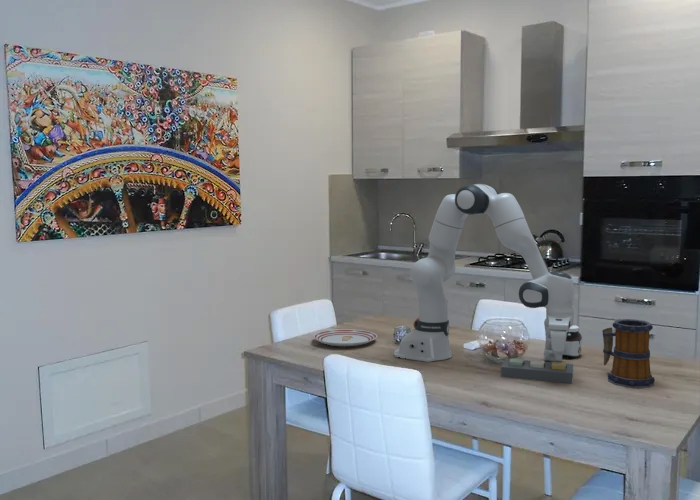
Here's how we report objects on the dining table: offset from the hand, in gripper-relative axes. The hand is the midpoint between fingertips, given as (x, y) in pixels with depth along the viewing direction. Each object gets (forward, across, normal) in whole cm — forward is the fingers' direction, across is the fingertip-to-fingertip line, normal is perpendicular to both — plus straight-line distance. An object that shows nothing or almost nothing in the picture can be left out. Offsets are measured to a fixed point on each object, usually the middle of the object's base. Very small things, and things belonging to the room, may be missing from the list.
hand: (559, 359), depth 214 cm
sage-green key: (+4, 0, -14) cm, 15 cm away
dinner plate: (+6, -24, -88) cm, 92 cm away
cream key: (+4, 0, -7) cm, 8 cm away
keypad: (+6, 0, -7) cm, 10 cm away
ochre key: (+4, 0, 0) cm, 4 cm away
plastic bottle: (+6, -20, -3) cm, 21 cm away
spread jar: (+6, -30, +1) cm, 31 cm away
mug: (+7, -4, +21) cm, 22 cm away
